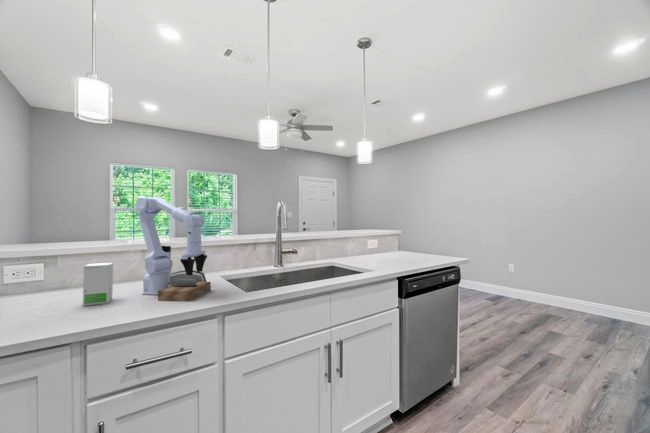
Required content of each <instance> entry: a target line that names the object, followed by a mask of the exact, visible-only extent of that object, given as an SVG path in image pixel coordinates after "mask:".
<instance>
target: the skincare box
mask: <svg viewBox="0 0 650 433" xmlns="http://www.w3.org/2000/svg"><path fill="white" fill-rule="evenodd" d="M113 277H114V263H113V262H104V263H103V262H98V263H88V264H85V265H84V266H83V279H82V280H83V285H82V287H83V289H82V306H84V307H85V306H93V305H102V304H104V305H105V304H108V303H110V302H111V301H112V300H113V288H114V287H113V285H114V284H113V283H114V280H113V279H114V278H113Z"/></svg>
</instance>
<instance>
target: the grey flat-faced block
mask: <svg viewBox="0 0 650 433" xmlns="http://www.w3.org/2000/svg"><path fill="white" fill-rule="evenodd" d="M176 287H196V279H177V280H176Z"/></svg>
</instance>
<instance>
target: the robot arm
mask: <svg viewBox="0 0 650 433" xmlns="http://www.w3.org/2000/svg"><path fill="white" fill-rule="evenodd" d="M134 205H135V209H136V212H137V216H138V222H139V225H140V229H141V231H142V235H143V238H144V241H145V245H146V248H147V249H146V250H147V252H148V254H147V255H146V257H145V258H144V262H145V264H144V269H145V271H146V274H145V275H144V276H143V280H142V282H143V283H142V286H143V287H142V288H143V292H142V293H141V294H142V295H156V296H158V291H159V290H161V289H164V288H166V287H169V286H170V284H169V282H168V272H169V271H170V269H171V270H172V267H173V260H172V257H171V258H170V257H169V255H168V253H166V252H165V251H163V250H162V247H161V246H162V244H161V241H160V238H159V234H158V230H157V227H156V224H155V221H154V218H155V217H156V216H157V215H159V213H161V211H163V212H166V213H169V214H170V215H172V218H173V219H174V220H176V221H178V222H180V223H182V225H183V226H184V227H185V228H184V229H185V233H186V253H183V254H181V258H180V259H179V260H180V262H181V264H182V265H183V267H184V270H185V271H186V274H187V275H192V274H193V270H194V265H195V268H196V269H195V270H197V272H203V268H204V265H205V262H206V260H207V258H208V255H207V254H206V250H202V227H203V226H204V222H205V220H204V217H203V216H202V215H201V214H194V212H193V211H188V210H187V209H186V207H184V206H178V207H176V206H174V205H172V204H171V203H170V202H168V201H166V199H164V198H162V197H159V196H158V197H152V196H144V195H141V196H139V197H138V198H137V199H136V202H135V203H134ZM157 258H158V259H157Z"/></svg>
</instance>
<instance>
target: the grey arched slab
mask: <svg viewBox="0 0 650 433" xmlns="http://www.w3.org/2000/svg"><path fill="white" fill-rule="evenodd" d="M177 279H196V282H208V281H207V278H206V275H205V272H204V271H202V272H197V269H193V274H192V275H187V274H186V271H185V269H182V270H181V269H180V270H177V271H174V272H171V275H170V284H169V286H172V285H174V284H176V280H177Z"/></svg>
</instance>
